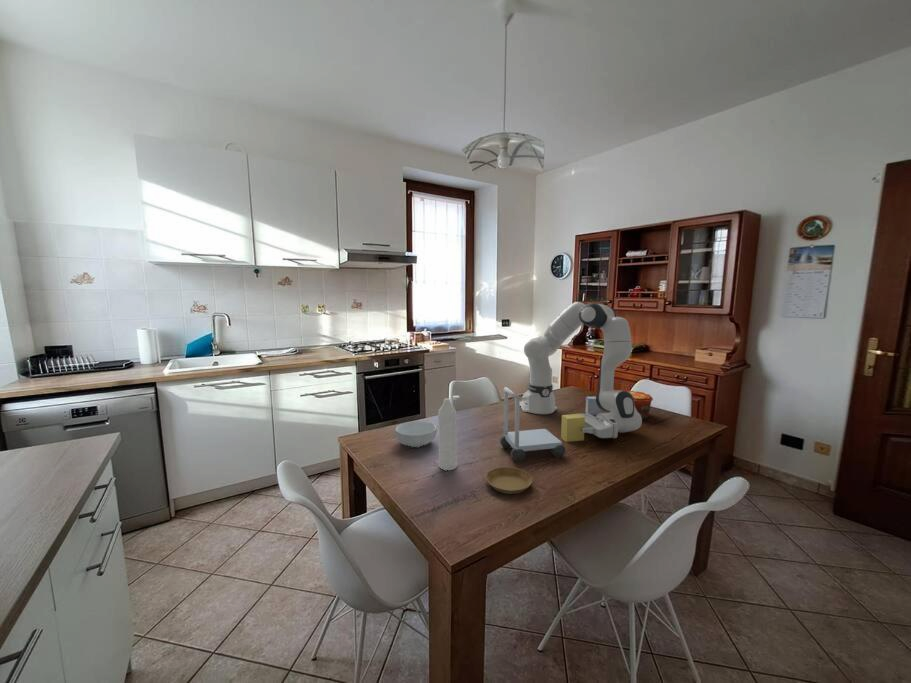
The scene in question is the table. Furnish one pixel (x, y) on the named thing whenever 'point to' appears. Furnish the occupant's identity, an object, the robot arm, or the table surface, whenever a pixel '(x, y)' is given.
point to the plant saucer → (509, 480)
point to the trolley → (527, 435)
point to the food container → (642, 403)
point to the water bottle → (447, 435)
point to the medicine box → (592, 406)
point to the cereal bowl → (416, 433)
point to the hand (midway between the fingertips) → (575, 426)
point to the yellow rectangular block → (572, 427)
